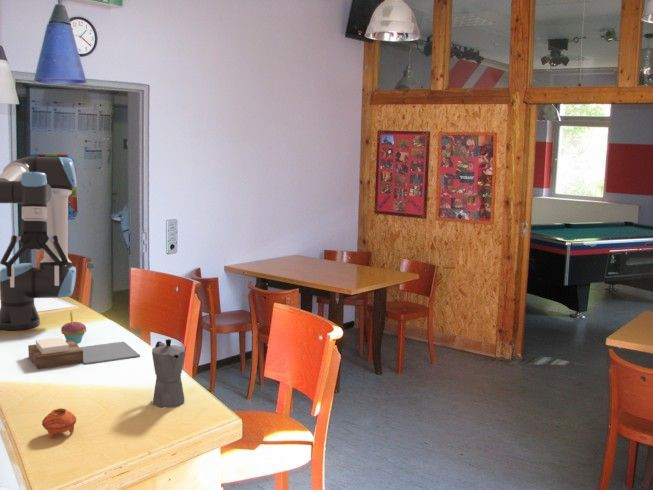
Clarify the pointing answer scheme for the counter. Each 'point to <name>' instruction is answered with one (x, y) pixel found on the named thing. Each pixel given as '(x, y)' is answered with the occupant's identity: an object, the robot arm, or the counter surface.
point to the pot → (59, 422)
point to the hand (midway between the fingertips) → (34, 286)
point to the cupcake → (73, 330)
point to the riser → (56, 356)
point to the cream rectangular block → (52, 345)
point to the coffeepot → (168, 374)
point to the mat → (107, 352)
